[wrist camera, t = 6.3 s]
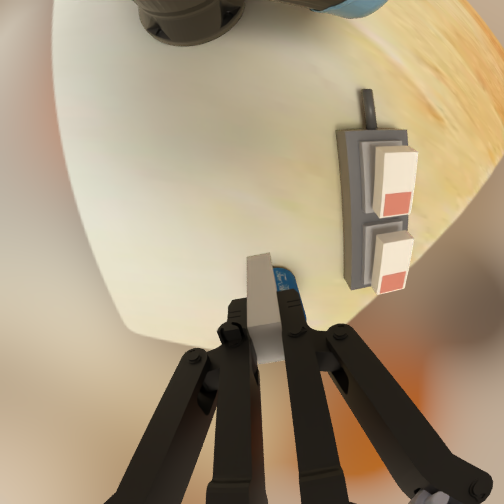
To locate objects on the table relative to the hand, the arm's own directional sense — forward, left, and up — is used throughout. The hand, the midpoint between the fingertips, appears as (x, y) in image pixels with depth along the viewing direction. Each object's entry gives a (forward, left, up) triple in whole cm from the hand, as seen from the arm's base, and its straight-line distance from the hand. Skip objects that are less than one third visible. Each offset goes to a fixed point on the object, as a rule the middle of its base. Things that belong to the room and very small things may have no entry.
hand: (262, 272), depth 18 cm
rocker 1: (-1, +18, -17) cm, 25 cm away
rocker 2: (+11, +18, -17) cm, 27 cm away
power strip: (+2, +18, -24) cm, 30 cm away
